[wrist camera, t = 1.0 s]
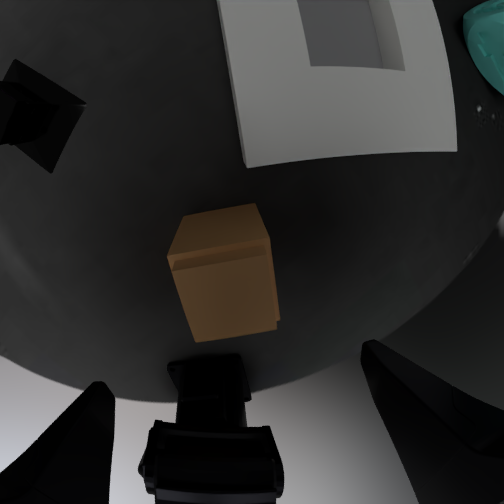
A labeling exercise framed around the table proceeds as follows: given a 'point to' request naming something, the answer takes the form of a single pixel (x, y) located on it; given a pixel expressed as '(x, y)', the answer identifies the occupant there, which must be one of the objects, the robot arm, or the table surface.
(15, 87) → the black angular piece
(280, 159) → the socket plate
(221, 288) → the brown block
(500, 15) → the decorative dice
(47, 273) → the table surface
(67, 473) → the robot arm
